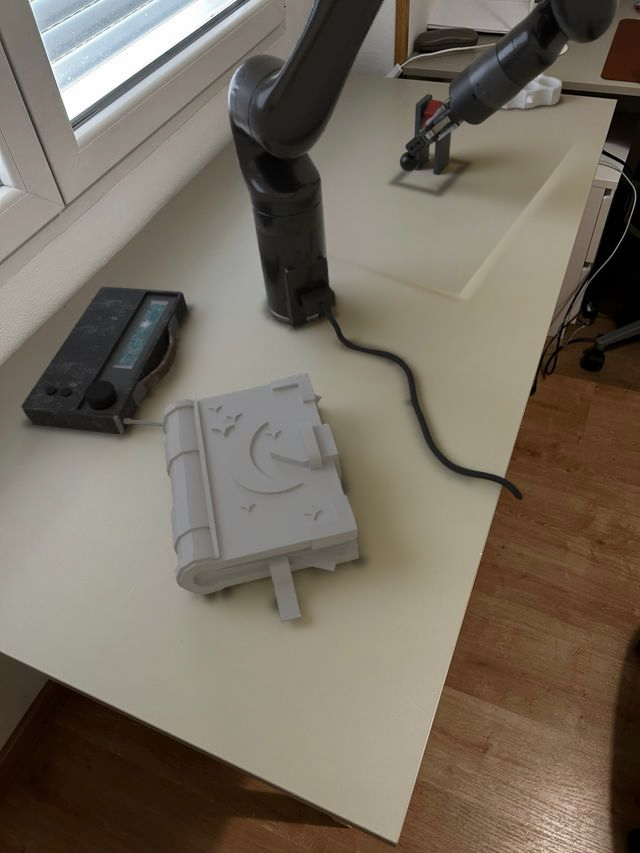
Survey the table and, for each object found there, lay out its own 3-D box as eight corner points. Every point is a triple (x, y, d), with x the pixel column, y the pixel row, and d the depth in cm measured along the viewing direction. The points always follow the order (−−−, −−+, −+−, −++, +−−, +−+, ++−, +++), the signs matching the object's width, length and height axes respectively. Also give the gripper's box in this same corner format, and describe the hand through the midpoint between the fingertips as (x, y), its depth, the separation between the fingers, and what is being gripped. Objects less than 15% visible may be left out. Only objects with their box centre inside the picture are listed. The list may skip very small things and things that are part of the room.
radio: (98, 279, 96) (226, 288, 93) (107, 302, 100) (231, 311, 96) (15, 401, 80) (165, 417, 77) (29, 424, 84) (174, 440, 80)
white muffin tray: (555, 82, 140) (561, 111, 131) (470, 83, 143) (470, 112, 133) (558, 65, 138) (565, 94, 128) (472, 67, 140) (472, 95, 131)
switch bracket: (438, 194, 113) (443, 120, 104) (393, 183, 117) (394, 111, 107) (467, 163, 120) (474, 91, 110) (423, 154, 123) (426, 83, 114)
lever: (415, 177, 110) (411, 165, 107) (398, 173, 111) (394, 161, 108) (447, 113, 111) (444, 99, 108) (430, 110, 112) (427, 96, 109)
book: (190, 650, 62) (170, 615, 56) (168, 436, 80) (152, 394, 75) (382, 601, 64) (382, 563, 58) (319, 403, 82) (314, 359, 77)
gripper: (492, 44, 96) (414, 114, 110) (454, 78, 89) (376, 148, 103) (521, 87, 97) (441, 151, 112) (485, 124, 90) (405, 186, 105)
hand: (410, 149), depth 107 cm, fingers closed
